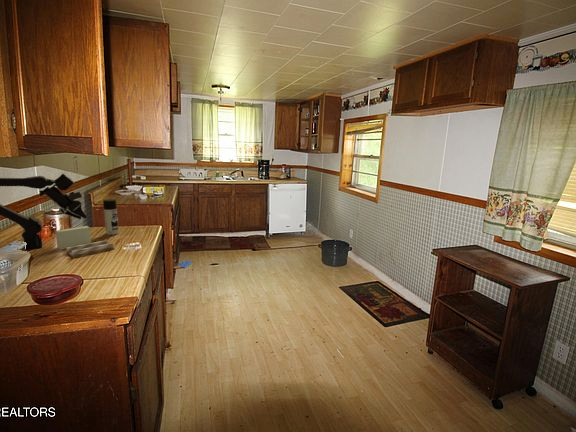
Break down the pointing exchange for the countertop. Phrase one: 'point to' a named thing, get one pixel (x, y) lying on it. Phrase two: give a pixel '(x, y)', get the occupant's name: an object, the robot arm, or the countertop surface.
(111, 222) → the spray can
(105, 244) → the bottom track
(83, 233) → the pale green rectangular block
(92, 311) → the countertop surface
